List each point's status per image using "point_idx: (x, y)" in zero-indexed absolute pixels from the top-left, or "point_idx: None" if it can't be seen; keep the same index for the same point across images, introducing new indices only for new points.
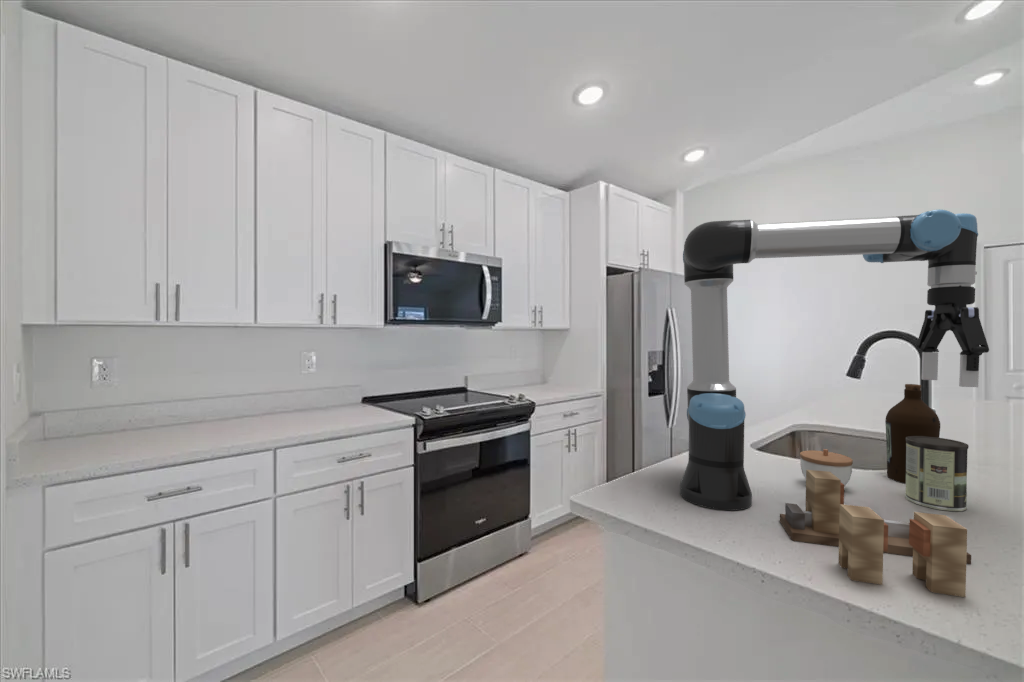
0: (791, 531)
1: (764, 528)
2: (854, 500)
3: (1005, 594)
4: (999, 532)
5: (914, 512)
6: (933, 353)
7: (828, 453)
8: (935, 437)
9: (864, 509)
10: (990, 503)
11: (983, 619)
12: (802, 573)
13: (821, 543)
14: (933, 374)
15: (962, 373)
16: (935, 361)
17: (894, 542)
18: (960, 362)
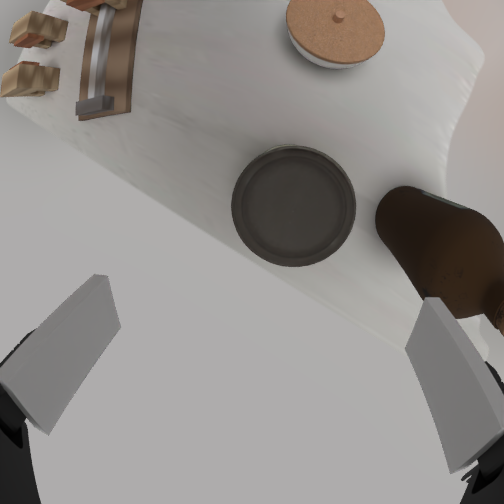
0: None
1: None
2: (261, 57)
3: (48, 125)
4: (180, 200)
5: (19, 64)
6: (464, 455)
7: (359, 33)
8: (344, 237)
9: (22, 28)
10: (307, 267)
11: (24, 99)
12: (56, 5)
13: None
14: (421, 356)
15: (57, 310)
16: (442, 419)
17: (88, 59)
18: (30, 349)
